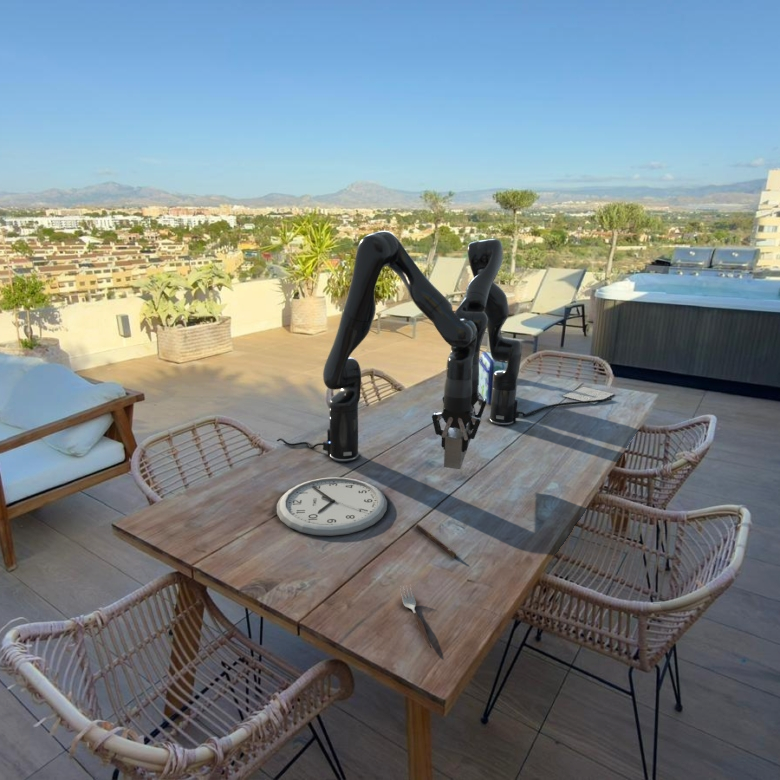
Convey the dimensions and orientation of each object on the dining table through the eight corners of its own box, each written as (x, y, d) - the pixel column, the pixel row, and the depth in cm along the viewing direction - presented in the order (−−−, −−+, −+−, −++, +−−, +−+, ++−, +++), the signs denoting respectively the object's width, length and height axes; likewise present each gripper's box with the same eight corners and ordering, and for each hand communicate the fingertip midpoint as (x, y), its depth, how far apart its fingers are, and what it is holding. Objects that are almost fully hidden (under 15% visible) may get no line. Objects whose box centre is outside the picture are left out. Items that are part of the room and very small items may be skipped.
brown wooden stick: (415, 527, 132) (415, 524, 132) (417, 527, 133) (417, 523, 132) (454, 558, 121) (454, 554, 120) (455, 557, 121) (456, 553, 121)
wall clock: (392, 527, 129) (268, 531, 127) (391, 533, 130) (269, 537, 127) (383, 473, 158) (282, 475, 155) (383, 478, 158) (282, 480, 156)
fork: (423, 651, 94) (424, 642, 93) (398, 593, 109) (398, 585, 108) (437, 648, 95) (437, 639, 94) (410, 591, 109) (411, 583, 109)
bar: (456, 437, 168) (457, 410, 166) (470, 439, 167) (472, 412, 164) (443, 467, 147) (445, 437, 145) (460, 469, 146) (462, 439, 143)
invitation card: (583, 386, 254) (614, 393, 243) (583, 387, 254) (614, 394, 244) (562, 395, 239) (594, 403, 229) (562, 396, 239) (594, 404, 229)
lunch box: (475, 390, 246) (478, 346, 240) (498, 390, 246) (501, 347, 240) (484, 408, 221) (487, 360, 215) (509, 409, 221) (513, 360, 215)
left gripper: (429, 394, 141) (427, 451, 147) (482, 399, 138) (478, 458, 143) (434, 386, 148) (432, 441, 153) (485, 391, 145) (481, 448, 150)
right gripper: (440, 377, 157) (438, 430, 162) (488, 381, 153) (484, 435, 158) (445, 371, 164) (442, 422, 169) (491, 375, 160) (487, 427, 165)
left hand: (454, 449), depth 148 cm, fingers closed on bar, 4 cm apart
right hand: (462, 428), depth 164 cm, fingers closed on bar, 4 cm apart
